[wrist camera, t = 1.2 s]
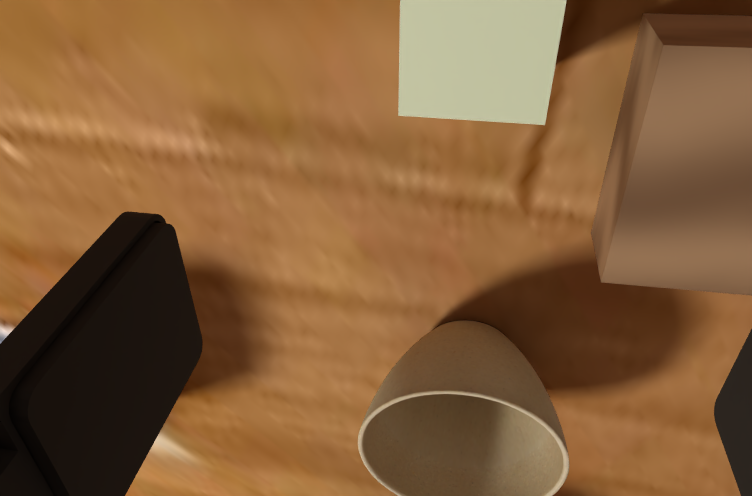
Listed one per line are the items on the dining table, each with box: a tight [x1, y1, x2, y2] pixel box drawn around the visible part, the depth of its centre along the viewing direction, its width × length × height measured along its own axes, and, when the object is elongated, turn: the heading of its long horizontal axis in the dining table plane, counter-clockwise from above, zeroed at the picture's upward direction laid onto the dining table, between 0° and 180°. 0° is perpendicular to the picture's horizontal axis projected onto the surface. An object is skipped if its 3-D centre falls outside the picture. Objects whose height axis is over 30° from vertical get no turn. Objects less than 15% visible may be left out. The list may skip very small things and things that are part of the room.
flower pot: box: [358, 320, 569, 496], centre depth 31 cm, size 10×10×7 cm
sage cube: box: [398, 0, 567, 125], centre depth 21 cm, size 5×5×5 cm
